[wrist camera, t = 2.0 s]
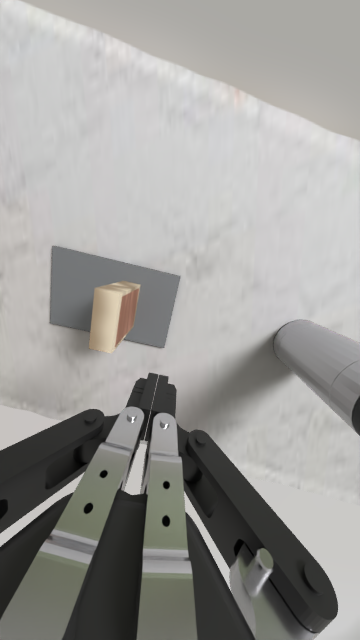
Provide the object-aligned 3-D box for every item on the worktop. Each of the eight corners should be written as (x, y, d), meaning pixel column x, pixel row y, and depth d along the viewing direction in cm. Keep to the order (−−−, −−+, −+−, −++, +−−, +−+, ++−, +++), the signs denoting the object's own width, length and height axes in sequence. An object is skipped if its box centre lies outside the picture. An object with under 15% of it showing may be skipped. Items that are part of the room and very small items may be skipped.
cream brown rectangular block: (140, 284, 32) (120, 293, 21) (133, 326, 34) (112, 353, 24) (123, 280, 32) (94, 287, 21) (117, 323, 34) (88, 348, 24)
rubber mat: (180, 276, 32) (180, 276, 31) (164, 346, 36) (164, 348, 35) (54, 245, 31) (52, 245, 30) (52, 322, 35) (50, 323, 34)
